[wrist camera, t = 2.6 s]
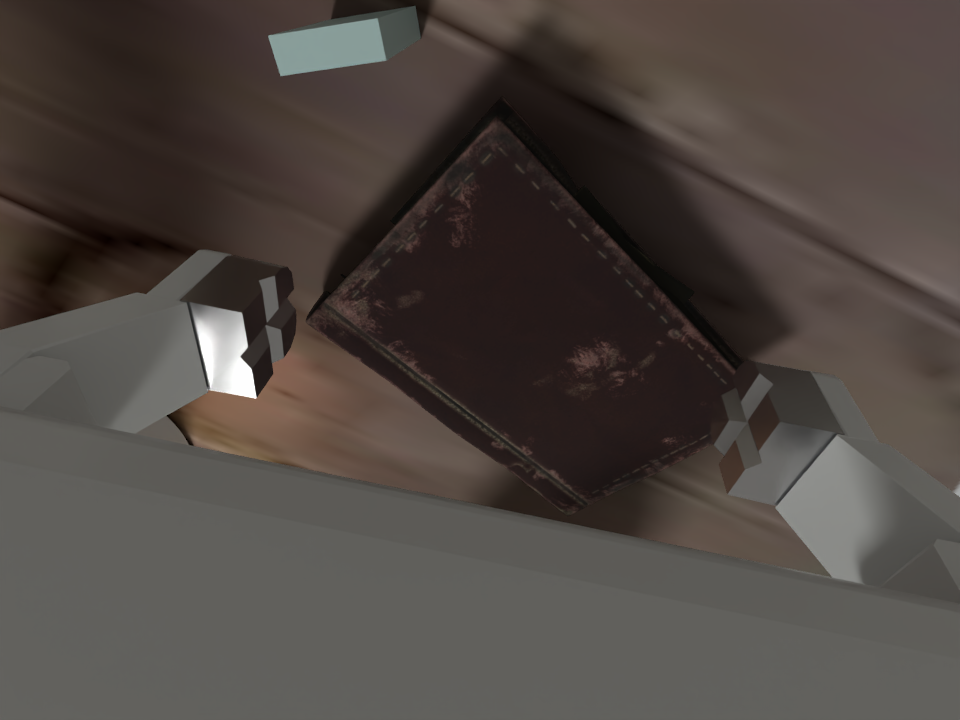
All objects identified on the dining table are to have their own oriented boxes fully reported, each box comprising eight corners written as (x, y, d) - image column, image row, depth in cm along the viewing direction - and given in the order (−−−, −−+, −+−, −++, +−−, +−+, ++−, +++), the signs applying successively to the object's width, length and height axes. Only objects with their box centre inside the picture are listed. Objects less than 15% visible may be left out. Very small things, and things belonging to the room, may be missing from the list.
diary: (559, 475, 47) (560, 524, 43) (322, 292, 38) (295, 332, 34) (761, 360, 38) (787, 408, 34) (513, 82, 29) (508, 103, 25)
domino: (338, 50, 28) (280, 75, 22) (330, 19, 27) (267, 35, 21) (420, 38, 27) (386, 60, 21) (415, 5, 27) (377, 18, 20)
